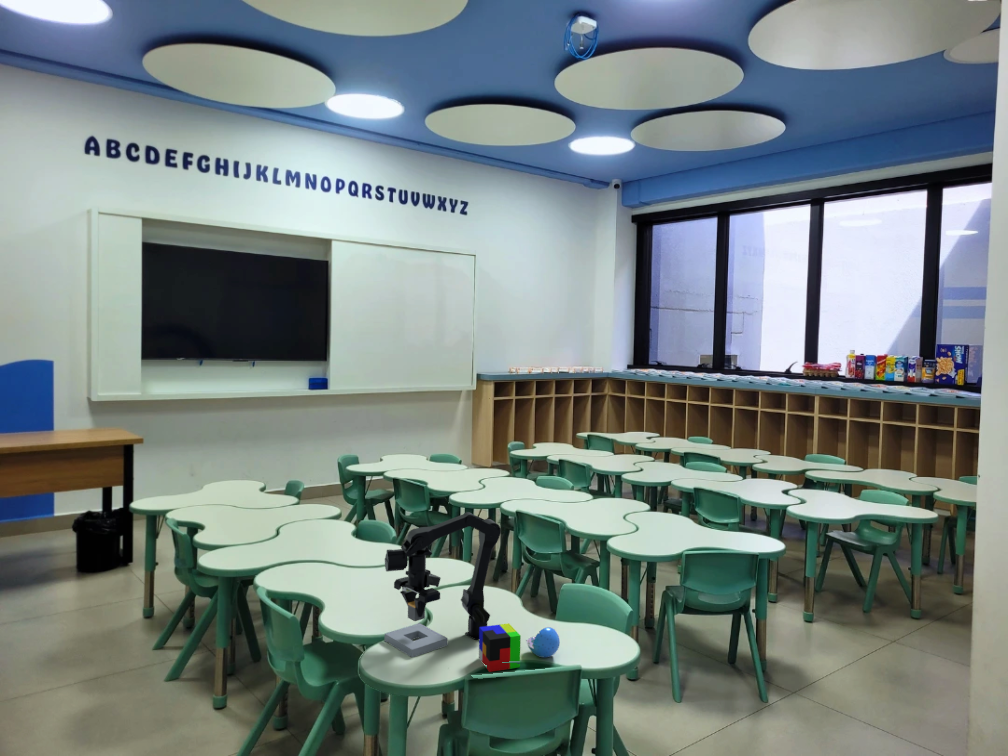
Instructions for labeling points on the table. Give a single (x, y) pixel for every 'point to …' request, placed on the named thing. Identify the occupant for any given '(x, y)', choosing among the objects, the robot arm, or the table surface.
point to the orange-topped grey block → (414, 612)
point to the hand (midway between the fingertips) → (416, 614)
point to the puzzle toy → (499, 646)
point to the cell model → (544, 643)
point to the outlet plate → (425, 644)
